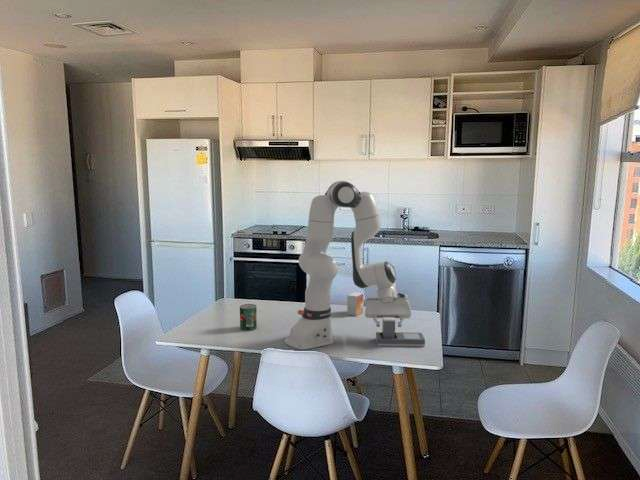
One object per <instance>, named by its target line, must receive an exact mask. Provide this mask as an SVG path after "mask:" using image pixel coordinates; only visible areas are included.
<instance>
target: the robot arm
mask: <svg viewBox="0 0 640 480" xmlns="http://www.w3.org/2000/svg"><path fill="white" fill-rule="evenodd" d="M338 208H348V209H349V208H350V209H351V210H352V212H353V217H354V221H355V227H354V230H353V231H352V232H351V237H350V244H351V245H350V247H351V258H352V259H351V260H352V280H353V284H354V285H355V286H356V287H357V288H359V289H365V288H369V287H372V286H376V288H377V290H376V296H377V297H367V298H366V299H363V306H364V307H365V311H364V317H365V318H367V319H373V322H374V323H375V326H376V327H379V328H380V325H381V322H380V321H379V320H378V319H383V316H394V317H395V319H399V320H400V321H397V328H402V326H403V324H402V323H403V322H404V319H411V317H412V315H413V313H412V308H411V303H410V302H409V300H408V295H407V294H405V293H403V292H398V291H397V288H396V286H397V274H396V273H397V272H396V270H395V267H394V265H392V264H391V263H390V262H388V261H379V262H374V263H369V264H363V256H362V255H363V254H362V246H363V244H364V243H366V242H367V241H369V240H370V239H372V238H373V237H375V235H377V234H378V233H379V231H380V230H381V228H382V219H381V214H380V210H379V207H378V204H377V202H376V199H375V197H374V195H373V193H371V192H369V191H359V189H358V188H357V187H356V186H355V185H354V184H352V183H350V182H348V181H345V180H338V181H335V182H333V183H331V185H330V186H329V187H328V188H327V191H326V192H325V193H324V194H323V195H322V194H321V195H317V196H314V197H313V199H312V201H311V204H310V207H309V213H308V222H307V234H306V239H305V244H304V247H303V250H302V253H300V255H299V258H298V265H299V267H300V269H301V270H302V271H303V272H304V273H305V274H306V275H309V280H308V281H309V282H308V286H307V287H306V288H305V292H304V295H305V297H304V308H303V310H302V309H298V310H297V314H298V315H301V317H300V318H299V320H298V321H296V323H295V324H294V325H292V327H291V328H290V332H289V337H287V338H285V339H284V344H286V345H288V346H289V347H291V348H294V349H298V350H303V351H304V350H310V349H315V348H318V347H322V346H323V347H324V346H327V345H331V344H334V335H333V331H332V330H333V329H332V324H331V316H332V308H331V289H332V285H333V281H334V279H335V278H336V277H337V275H338V273H339V264H338V263H337V262H336V260H335V259H334V258H333V257H332V256H330V255H328V254H327V251H328V248H329V246H330V243H331V242H332V241H333V235H334V225H335V214H336V212H337V209H338Z"/></svg>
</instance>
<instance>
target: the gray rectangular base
mask: <svg viewBox="0 0 640 480" xmlns="http://www.w3.org/2000/svg"><path fill="white" fill-rule="evenodd" d="M375 340H376V345H377V346H378V347H379V346H380V347H426V346H425V344H426V339H425V337H424V335H423V333H422V332H404V331H402V332H400V331H399V332H395V339H391V338H382V332H377V331H376V333H375Z"/></svg>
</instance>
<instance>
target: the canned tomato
mask: <svg viewBox="0 0 640 480" xmlns="http://www.w3.org/2000/svg"><path fill="white" fill-rule="evenodd" d="M239 326H240V327H239V330H240V331H242V332H252V331H253V332H254V331H255V330H257V328H258V325H257V305H256V304H254V303H245V304H243V303H242V304H241V305H240V306H239Z"/></svg>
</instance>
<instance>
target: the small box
mask: <svg viewBox="0 0 640 480" xmlns="http://www.w3.org/2000/svg"><path fill="white" fill-rule="evenodd" d="M346 298H347V302H346V303H347V305H346V307H347V309H346V311H347V313H346V314H347V315H348V316H355V317H358V315H361V314H363V313H364V293H362V292H356V291H354V292H352V293H350V294H348V295H347V297H346Z"/></svg>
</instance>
